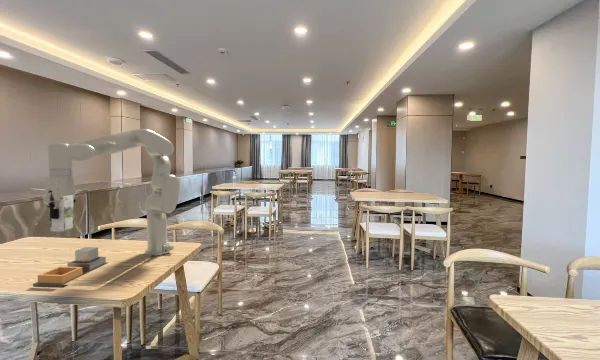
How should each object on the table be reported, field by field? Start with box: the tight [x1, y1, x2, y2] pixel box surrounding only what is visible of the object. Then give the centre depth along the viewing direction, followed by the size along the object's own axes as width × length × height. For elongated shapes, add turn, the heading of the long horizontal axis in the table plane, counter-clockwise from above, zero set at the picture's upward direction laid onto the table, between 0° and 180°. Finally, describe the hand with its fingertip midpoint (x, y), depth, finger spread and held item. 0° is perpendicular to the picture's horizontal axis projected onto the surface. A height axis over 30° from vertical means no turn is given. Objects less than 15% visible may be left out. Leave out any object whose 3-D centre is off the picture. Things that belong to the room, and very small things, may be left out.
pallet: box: [32, 256, 110, 288], centre depth 128 cm, size 26×12×4 cm, turn 177°
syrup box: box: [48, 195, 75, 232], centre depth 123 cm, size 6×6×14 cm
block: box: [74, 246, 99, 263], centre depth 135 cm, size 6×6×8 cm
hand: (61, 216), depth 123 cm, fingers closed on syrup box, 6 cm apart
